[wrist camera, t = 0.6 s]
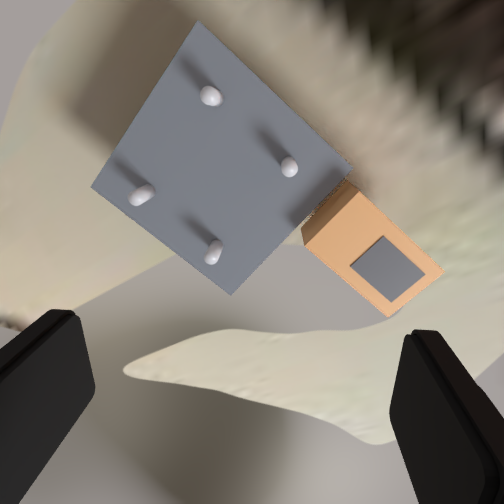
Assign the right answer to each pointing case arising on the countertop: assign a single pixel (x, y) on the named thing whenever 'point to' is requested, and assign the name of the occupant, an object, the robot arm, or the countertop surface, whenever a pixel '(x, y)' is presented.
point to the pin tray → (218, 164)
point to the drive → (368, 250)
